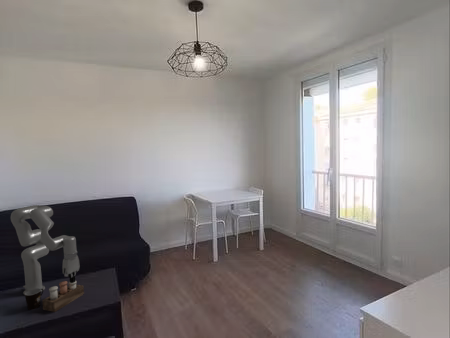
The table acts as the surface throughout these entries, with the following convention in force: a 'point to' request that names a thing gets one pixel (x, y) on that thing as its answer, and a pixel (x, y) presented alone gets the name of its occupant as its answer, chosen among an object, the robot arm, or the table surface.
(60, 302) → the socket block
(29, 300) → the coffee mug
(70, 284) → the cream plug
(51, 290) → the cream plug
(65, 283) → the terracotta plug
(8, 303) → the table surface
